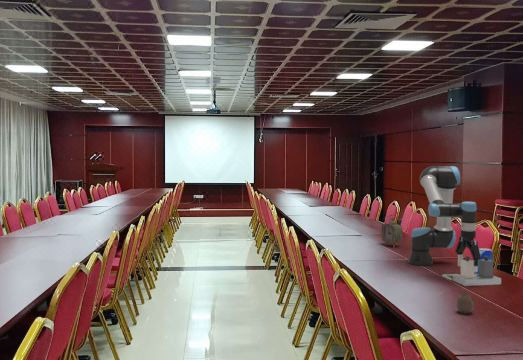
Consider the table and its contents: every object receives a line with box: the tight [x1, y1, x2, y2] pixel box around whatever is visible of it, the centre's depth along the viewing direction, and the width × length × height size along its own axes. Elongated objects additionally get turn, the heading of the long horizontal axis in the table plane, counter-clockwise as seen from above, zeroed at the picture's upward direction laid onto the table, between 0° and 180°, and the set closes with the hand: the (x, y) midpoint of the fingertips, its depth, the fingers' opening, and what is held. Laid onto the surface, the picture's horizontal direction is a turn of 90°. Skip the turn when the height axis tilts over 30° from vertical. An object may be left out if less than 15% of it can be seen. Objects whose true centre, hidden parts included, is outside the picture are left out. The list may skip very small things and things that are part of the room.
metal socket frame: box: [452, 273, 502, 287], centre depth 268 cm, size 12×21×4 cm, turn 100°
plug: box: [460, 255, 475, 279], centre depth 267 cm, size 5×5×14 cm
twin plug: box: [479, 256, 494, 278], centre depth 269 cm, size 5×5×14 cm
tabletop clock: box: [381, 214, 403, 249], centre depth 384 cm, size 14×9×25 cm, turn 25°
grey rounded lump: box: [456, 291, 474, 315], centre depth 217 cm, size 7×7×9 cm
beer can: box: [476, 247, 494, 274], centre depth 284 cm, size 8×8×16 cm
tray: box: [441, 273, 459, 281], centre depth 278 cm, size 9×9×2 cm
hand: (467, 269), depth 267 cm, fingers open, 13 cm apart
